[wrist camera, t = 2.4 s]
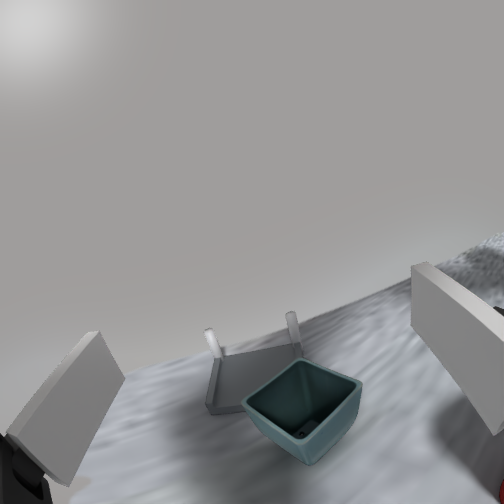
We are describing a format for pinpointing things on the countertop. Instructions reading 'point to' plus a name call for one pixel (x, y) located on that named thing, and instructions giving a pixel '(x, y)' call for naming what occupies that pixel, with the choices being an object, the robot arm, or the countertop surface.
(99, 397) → the robot arm
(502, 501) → the plastic cup
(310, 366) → the flower pot
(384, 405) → the countertop surface
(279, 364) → the tray
